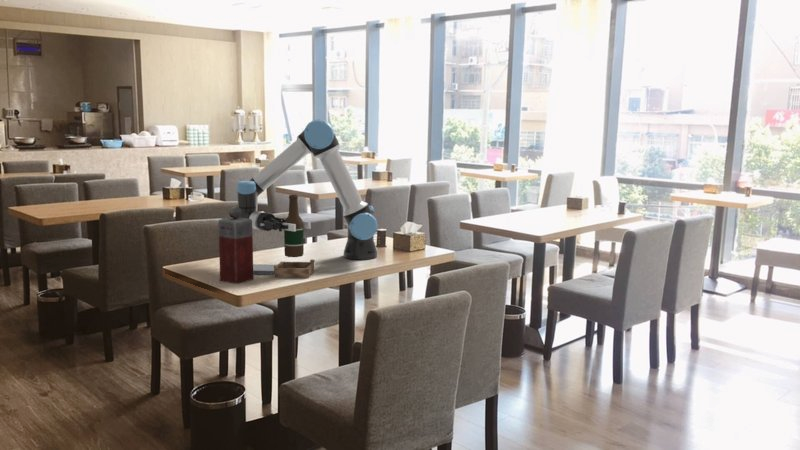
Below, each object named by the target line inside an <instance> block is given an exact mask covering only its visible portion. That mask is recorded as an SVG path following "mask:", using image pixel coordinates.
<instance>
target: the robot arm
mask: <svg viewBox="0 0 800 450" xmlns="http://www.w3.org/2000/svg"><path fill="white" fill-rule="evenodd" d="M337 138H338V137H336V134H335V133H334V129H333V127H332V125H331V124H330V122H328V121H327V120H324V119H322V118H321V119H314V120H311V121H310V122H308V124H306V126H305V128H304V129H303V131H302V132H300V133H299V134H298V135H297V137H296V140H295V141H293V143H291V144H290V145H289V146H288V147H287V148H286V149H285V150H283V151H282V152H281V153H280V154H278V155H277V156H276V157H275V158H273V160H271V161H270V162H269V163H267V165H266V166H265V167H263V168H262V169H261V170H260V171H259V172H257V173H256V174H255V175H254V176H253V177H252V178H250V179H249V180H241V181H240V180H239V181H238V182H237V187H236V194H237V207H239V208H240V209H241V216H240V217H239V218H247V219H251V220H252V230H257V231H258V232H259V231H266V232H270V231H273V230H274V231H279V232H283V231H284V230H288V231H294V232H295V231H296V224H290V223H285V221H286V219H287V217H283V218H282V217H278V216H275V214H273V213H272V212H266V211H260V210H257V197H259V196H260V195H261V194H262V193H263V192H265V191H266V190H267V189H268V188H269V187H271V186H272V185H273V184H274V183H275V182H277V180H278V179H280V178H281V177H282V176H284V174H286V173H287V172H288V171H289V170H291V168H293V167H294V166H296V164H298V163H300V162H301V160H302V159H304V158H305V157H307V156H308V154H310V155H313V157H314V158H317V159H319V161H320V162H321V165H322V167H323V170H324V171H325V173H326V175H327V176H328V179H329V181H330V183H331V185H332V187H333V189H334V191H335V194H336V196H337V197H338V200H339V202H340V205H341V206H342V208H343V213H342V215H343V218H344V220H345V222H346V225H347V240H346V244H345V246H344V249H343V258H346V259H350V260H371V259H375V258H377V257H378V250H377V246H376V243H375V241H374V240H375V239H374V236H375V234H376V233H377V231H378V224H379V223H378V221H377V218H376V217H375V215H374V213H375V210H374V207H373V205H369V203H368V202H366V201H363V199H362V196H361V195H360V193H359V191H358V189H357V188H358V187H356V185H355V181H354V180H353V178H352V176H351V174H350V172H349V170H348V168H347V165H346V163H345V162H344V160H343V157H342V155H341V153H340V151H339V148H340V143H339V140H338V139H337ZM302 222H303V229H308V230H312V229H311V227H312V226H311V224H312V223H311V222H312V221H306V220H302Z"/></svg>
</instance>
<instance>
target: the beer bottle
mask: <svg viewBox="0 0 800 450" xmlns="http://www.w3.org/2000/svg"><path fill="white" fill-rule="evenodd" d="M298 198H299V197H298V194H290V195H289V196H288V200H289V202H288V203H289V205H288V214H287V215H288V216H287V217H286V218H287V219H286V221H285V223H290V224H296V231H295V232H294V231H288V230H283V235H284V236H283V238H284V239H283V240H284V246H283V247H284V256H285V257H287V258H299V257H303V256H304V250H305V248H304V245H305V244H304V228H303V222H302V221H303V218H301V216H300V214H299V204H298V202H299V201H298Z"/></svg>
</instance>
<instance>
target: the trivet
mask: <svg viewBox="0 0 800 450" xmlns="http://www.w3.org/2000/svg"><path fill="white" fill-rule="evenodd" d="M274 265H275V264H263V263H262V264H258V263H253V275H259V276H260V275H267V276H270V275H271V276H273V275H274Z"/></svg>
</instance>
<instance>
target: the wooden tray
mask: <svg viewBox="0 0 800 450" xmlns="http://www.w3.org/2000/svg"><path fill="white" fill-rule="evenodd" d="M273 265H274V278H282V279H283V278H288V279H289V278H290V279H291V278H293V279H296V278H297V279H304V278H305V279H309V278H311V276H312V275H313V273H314V272H315V259H310V260H309V261H280V262H279V263H278V264H273Z"/></svg>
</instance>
